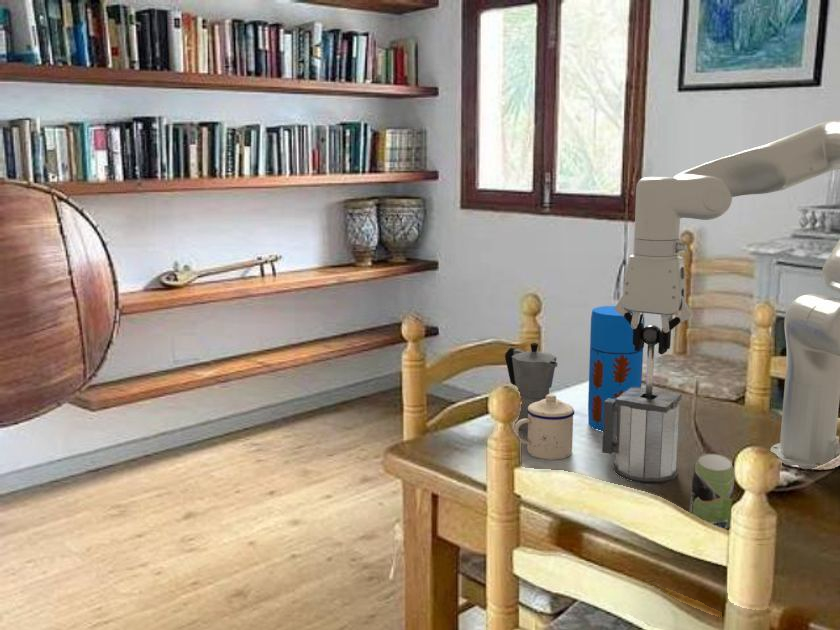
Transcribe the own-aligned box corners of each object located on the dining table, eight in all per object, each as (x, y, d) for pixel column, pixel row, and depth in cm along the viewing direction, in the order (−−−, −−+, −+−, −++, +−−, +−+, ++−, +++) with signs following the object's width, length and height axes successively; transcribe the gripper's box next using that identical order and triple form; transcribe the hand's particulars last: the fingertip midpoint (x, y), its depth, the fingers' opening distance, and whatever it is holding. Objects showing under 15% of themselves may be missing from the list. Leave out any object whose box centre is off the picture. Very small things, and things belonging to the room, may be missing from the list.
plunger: (673, 417, 154) (678, 323, 151) (661, 429, 148) (666, 331, 145) (634, 411, 158) (638, 319, 154) (621, 422, 152) (625, 326, 148)
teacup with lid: (561, 442, 171) (562, 386, 168) (581, 458, 162) (583, 399, 160) (505, 448, 168) (506, 391, 165) (522, 464, 159) (523, 405, 157)
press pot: (684, 467, 157) (688, 393, 154) (666, 488, 148) (670, 409, 145) (614, 454, 164) (617, 382, 161) (593, 473, 155) (595, 397, 152)
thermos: (644, 433, 175) (650, 315, 170) (592, 433, 175) (596, 316, 170) (632, 417, 186) (637, 305, 181) (583, 417, 186) (587, 305, 181)
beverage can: (720, 519, 135) (725, 448, 133) (738, 540, 128) (744, 465, 126) (681, 519, 135) (685, 449, 133) (697, 541, 128) (702, 466, 126)
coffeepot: (570, 428, 179) (572, 345, 175) (538, 437, 174) (539, 352, 170) (520, 410, 191) (522, 332, 188) (489, 418, 186) (490, 338, 182)
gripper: (710, 249, 146) (703, 352, 149) (617, 243, 154) (613, 341, 158) (698, 254, 139) (692, 361, 143) (602, 248, 148) (598, 349, 152)
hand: (650, 350), depth 150 cm, fingers closed on plunger, 3 cm apart
